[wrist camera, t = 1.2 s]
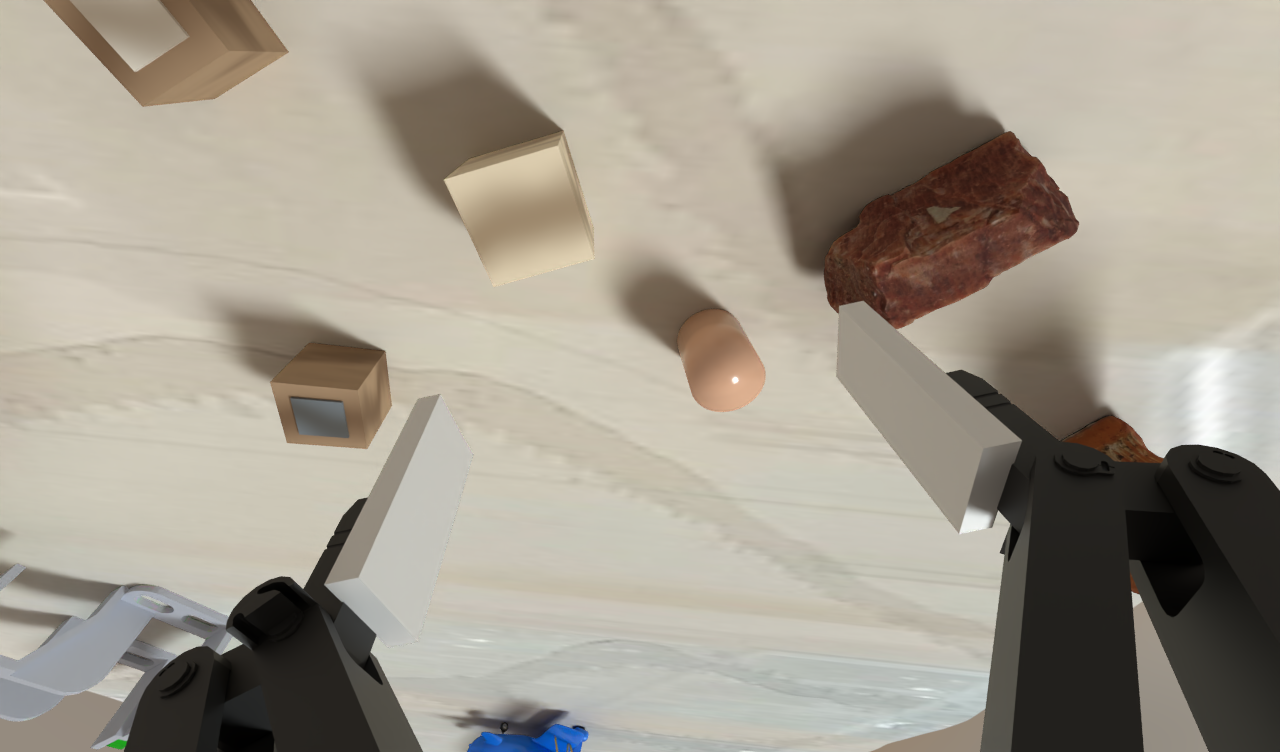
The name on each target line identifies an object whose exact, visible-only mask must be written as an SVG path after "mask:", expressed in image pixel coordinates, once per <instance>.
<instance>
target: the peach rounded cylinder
mask: <svg viewBox="0 0 1280 752" xmlns="http://www.w3.org/2000/svg"><path fill="white" fill-rule="evenodd" d="M677 346H678V350H679V353H680V356H681V360H682V363H683V366H684V369H685V373H686V376H687V379H688V383H689V386H690V389H691V392H692V395H693V397H694V399H695V400H696V401H697V403H698V404H700V405H701V406H702V407H704V408H706V409H708V410H711V411H716V412H727V411H733V410H736V409H739V408H741V407H744V406H745V405H747V404H749V403H750V402H751V401H753V400H754V399H755V398H756V397H757V396H758V394H759V393H760V391H761V390H762V388H763V385H764V382H765V369H764V366H763V364H762V362H761V360H760V358H759V357H758V355H757V353H756V351H755V350H754V348H753V346H752V344H751V342H750V341H749V339H748V337H747V335H746V334H745V332H744V330H743V328H742V327H741V325H740V323H739V321H738V320H737V319H736V318H735V317H734V316H733V315H732V314H731V313H729V312H727V311H724V310H720V309H707V310H703V311H700V312H698V313H696V314H694V315H692V316H691V317H690V318H688V319H687V320H686V321H685V322H684V324H683V325H682V327H681V328H680V330H679V333H678V337H677Z"/></svg>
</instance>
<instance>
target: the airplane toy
mask: <svg viewBox="0 0 1280 752" xmlns="http://www.w3.org/2000/svg"><path fill="white" fill-rule="evenodd" d="M500 729H501V731H502V734H493V733H489V732H482V733H481V735H482V736H480V737H478V738H477V739H476V740H475V741H474V742H473V743H472V744H469V749H468V751H467V752H570V751H571V752H580V751H581V746H582V741H583V742H584V741H586V740H587V739H588V735H589V734H588V732H587V731H586V730H585V729H584V728H579V727H575V728H574V729H572V728H569V727H566V726H563V725H559V724H555V725H553V726H551V727H550V728H549V729H548V730H547V731H546V732H544V733H543V734H542V735H541V736H540V737H538V738H532V737H530V736H526V735H516V734H504V732H505V731H507V729H508V724H507V723H505V722H504V723H502V724H501V727H500Z"/></svg>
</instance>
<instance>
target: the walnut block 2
mask: <svg viewBox="0 0 1280 752" xmlns="http://www.w3.org/2000/svg"><path fill="white" fill-rule="evenodd" d="M270 383H271V387H272V390H273V394H274V397H275V401H276V405H277V408H278V412H279V415H280V419H281V423H282V426H283V430H284V433H285V437H286V441H287V443H295V444H309V445H322V446H335V447H349V448H362V449H367V448H368V446H369V445H370V443H371V441H372V439H373V438H374V436H375V434H376V432H377V431H378V429H379V427H380V426H381V424H382V422H383V420H384V419H385V417H386V415H387V413H388V412H389V410H390V408H391V406H392V403H391V395H390V386H389V378H388V369H387V361H386V352H385V351H381V350H372V349H363V348H353V347H344V346H335V345H326V344H316V343H309V344H308V345H307V346H306V347H305V348H304V349H303V350H302V351H301V352H300V353H299V354H298V355H297V356H296V357H295V358H294V359H293V360H292V361H291V362H290V363H289V364H288V365H287V366H286V367H285V368H284V369H283V370H282V371H281V372H280V373H279V374H278V375H277V376H276V377H275V378H274V379H273V380H272V381H271V382H270Z"/></svg>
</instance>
